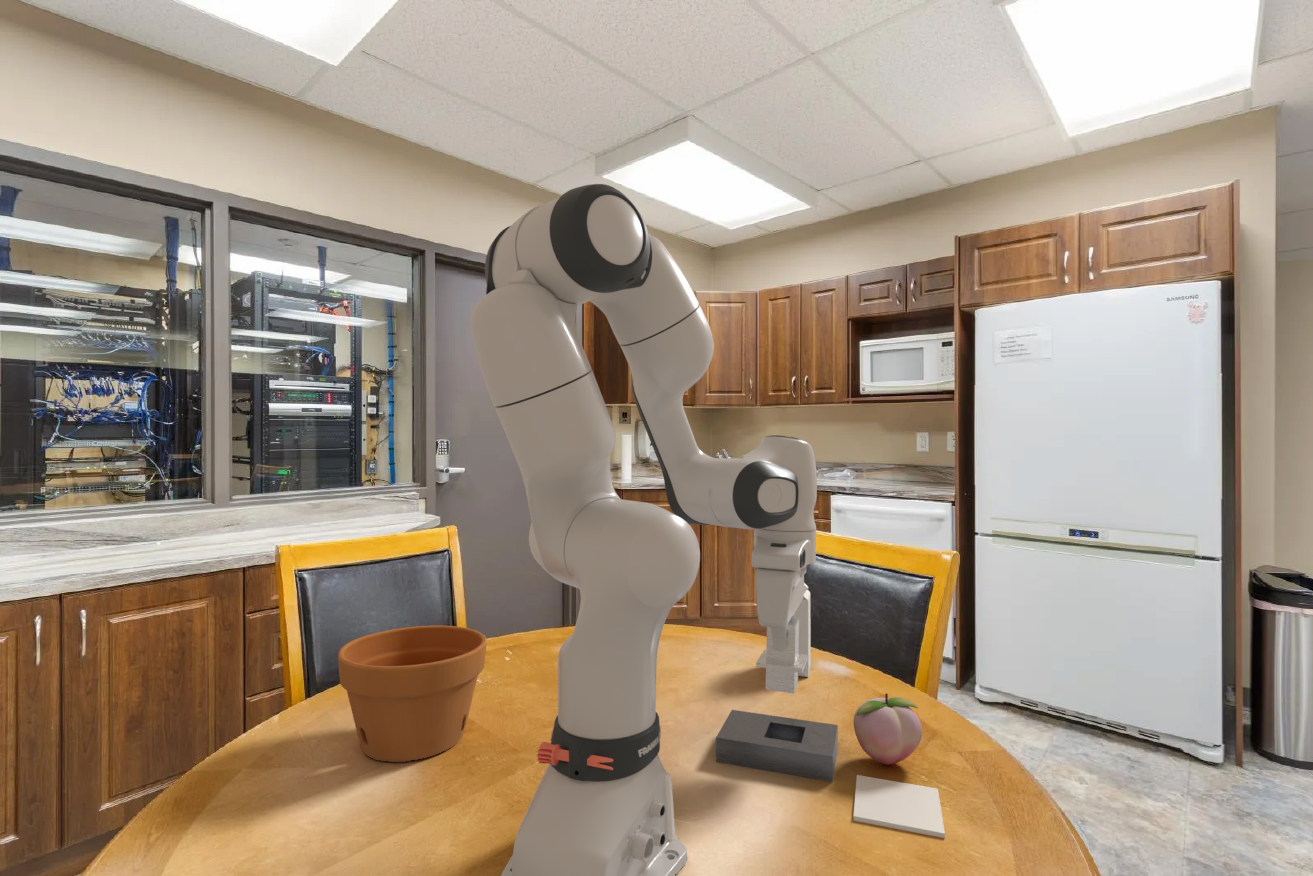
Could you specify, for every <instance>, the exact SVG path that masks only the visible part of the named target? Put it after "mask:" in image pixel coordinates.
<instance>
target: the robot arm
mask: <svg viewBox="0 0 1313 876" xmlns="http://www.w3.org/2000/svg"><path fill="white" fill-rule="evenodd" d="M484 274H485V275H484V276H485V278H484V279H485V283H486V290H485V295H484V296H483V297H482V298H481V299H480V300H479V301H478V302H477V303H476V305H475V306H474V308H473V309H472V312H471V316H470V321H469V322H470V323H469V325H470V332H471V335H472V341H473V346H474V350H475V354H476V355H475V356H476V358H477V362H478V365H479V368H480V372H481V376H482V379H483V381H484V384H485V387H486V391H487V392H488V395H489V397H490V400H491V402H492V405H493V407H494V410H495V412H496V414H497V417H498V420H499V421H500V422H499V423H500V424H501V426H502V430H503V431H504V433H505V436H506V438H507V440H508V443H509V446H510V448H511V450H512V454H513V456H514V458H515V460H516V463H517V465H518V468H519V470H520V473H521V477H522V481H523V484H524V485H523V486H524V488H525V494H526V498H527V502H528V504H527V505H528V509H529V514H530V522H531V523H530V528H529V532H528V545H529V548H530V549H529V550H530V553H531V555H532V556H533V559H534V561H535V562H536V563H537V564H538V565H539V566H541V568H542V569H543V570H544V571H545V572H546V573H547V574H549V575H550V576H551V577H552V578H553V579H555V580H556V581H557V582H560V583H562V584H565V585H568V586H570V587H573V588H576V589H578V590H579V592H580V593H579V594H580V604H579V611H578V614H577V615H578V616H577V619H576V622H575V623H576V624H575V626H574V629H573V632H572V634H571V635H569V636H568V637H567V638H566V639H565V640H564V641H563V643H562V644H561V646H560V648H559V651H558V654H557V655H558V656H557V665H558V666H557V671H558V673H557V682H558V683H557V685H558V686H557V693H558V694H557V715H556V716H555V719H554V722H553V729H552V731H551V735H550V740H549V741H550V742H547V741H542V742H541V744H540V745H539V747H538V751H537V755H536V757H537V761H538V763H540V764H548V765H547V768H546V769H545V771H544V773H543V775H542V777H541V780H540V782H539V784H538V786H537V788H536V790H535V792H534V794H533V797H532V799H531V801H530V803H529V806H528V808H527V810H526V813H525V814H524V817H523V819H522V822H521V824H520V827H519V829H518V831H517V833H516V836H515V839H514V845H513V850H512V855H511V857H510V858H509V860H508V862H507V863H506V865H505V867H504V868H503V870H502V872H501V874H500V876H676V875H677V874H678V873H679V872H680V871H681V869H682V868H683V867H684V866H685V864H686V863H687V862H688V858H689V857H688V849H687V847H686V845H685V844H684V843H683V842H682V841H681V840H679V838H677V836H676V829H675V811H674V809H675V808H674V798H673V797H674V796H673V795H674V794H673V782H672V778H671V776H670V775H669V772H668V771H667V770H666V768H665V767H664V765H663V762H662V761H661V758H660V756H659V753H660V751H661V750H660V749H661V736H662V735H661V734H662V733H661V728H662V727H661V725H660V716H659V714H658V712H657V711H656V707H657V705H656V704H657V702H656V701H657V665H658V663H657V662H658V661H657V659H658V651H659V644H660V640H661V635H662V632H663V629H664V625H665V623H666V619H667V618H668V615H669V614H670V611H671V610H672V608H673V607H674V605H676V604H677V603H678V602H679V601H680V600H682V599H683V598H684V597H685V596H686V595H687V594H688V593H689V591H690V590H691V589H692V587H693V585H694V584H695V581H696V578H697V576H698V573H699V568H700V562H701V551H700V550H701V549H700V543H699V540H698V537H697V535H696V532H695V530H693V528H692V526H691V525H694V526H695V525H697V526H698V525H700V526H701V525H703V526H704V525H706V526H709V525H711V526H720V527H724V528H736V529H743V530H754V531H753V549H752V553H751V567H752V568H756V570H755V593H756V595H755V597H756V612H757V619H758V622H759V626H761V627H764V628H767V627H770V628H771V632H772V637H773V644H772V648H773V649H774V650H775V651H785V649H786V647H787V636H786V630H787V625H788V623H789V621H790V620H791V618H794V614H795V611H796V610H797V608H798V606H799V605H800V603H801V601H802V600H803V596H804V583H805V574H806V573H807V565H811V564H812V565H813V564H814V563H816V560H817V557H816V554H817V551H816V549H817V524H816V521H815V516H814V515H815V513H814V511H815V506H816V503H817V500H818V499H817V498H818V491H817V490H818V480H817V479H818V477H817V463H816V458H815V457H816V456H815V453H814V450H813V447H812V445H811V444H810V443H809V442H807V441H806V440H804V439H802V438H798V437H795V436H794V437H793V436H786V435H780V434H779V435H778V434H777V435H773V434H772V435H767V436H764V437H762V438H761V440H760V442H759V444H758V445H757V446H756V447H755V448H754V449H752V450H751V451H750V452H747V453H745V454H744V455H740V456H739V457H731V458H729V457H727V458H723V457H721V458H720V457H713V456H710V455H708V454H707V453H705V452H704V451H702V450H701V449H700V448H699V446H698V444H697V442H696V439H695V436H694V433H693V430H692V428H691V425H690V422H689V420H688V417H687V414H686V411H685V408H684V404H683V403H684V402H683V401H684V399H683V398H684V394H685V392H687V391H688V390H689V389H691V388H692V387H693V386H694V385H695V384H697V382H698V381H700V380H701V379H702V377H703V376H704V375H705V374H706V372H707V370H708V368H709V367H710V364H711V362H712V359H713V357H714V356H713V355H714V350H715V344H714V343H715V342H714V338H713V337H714V336H713V332H712V329H711V327H710V324H709V322H708V319H707V317H706V315H705V313H704V311H703V309H702V307H701V305H700V302H699V301H698V298H697V296H696V295H695V292H694V289H692V286H691V285H690V283H689V282H688V279H687V277H686V276H685V275H684V272H683V271H682V270H681V267H680V266H679V265H678V263H677V261H676V260H675V258H674V257H673V255H672V254H671V253H670V252H669V251H668V249H667V248H666V246H665V245H664V243H662V241H661V240H660V239H658V238H657V237H656V236H653V235H651V234H650V233H649V230H648V227H647V224H646V221H645V220H644V218H643V216H642V214H641V213H640V211H639V209H638V208H637V207H636V206H635V204H634V203H633V202H632V201H631V199H629V198H628V197H627V196H626V195H625V194H624V193H623V192H621V191H620V190H618V188H615V187H614V186H611V185H608V184H603V183H593V184H592V183H591V184H586V185H581V186H577V187H574V188H571V189H569V190H567V191H566V192H564V193H563V194H562V195H561V196H559V197H556V198H555V199H553V200H550V201H548V202H546V203H543V204H541V205H537V206H535V207H533V208H532V209H530V210H529V211H527V212H526V213H524V214H523V215H522V216H520V217H519V218H518V219H517V220H515V221H514V222H513V223H512V224H511V225H509V226H507V227H505V228H504V229H502V230H501V231H500V232H499V233H498V234H497V235H496V237H495V238H494V239H493V241H492V242H491V244H490V246H489V248H488V250H487V253H486V257H485V263H484ZM588 302H590V303H592V304H593V305H594V306H595V307H597V308H598V309H599V310H600V311H601V312H602V313H603V315H605V317H606V319H607V321H608V324H609V325H610V328H611V330H612V332H613V333H612V334H613V335H614V337H615V339H616V340H617V344H619V346H620V348H621V350H622V353H623V355H624V357H625V359H626V361H627V365H628V367H629V369H630V373H631V377H632V380H631V389H632V390H631V391H632V394H633V399H634V402H635V406H636V409H637V411H638V413H639V417H640V419H641V422H642V424H643V426H644V429H645V431H646V434H647V437H648V439H649V441H650V444H651V446H652V448H653V451H654V453H655V455H656V458H657V461H658V464H659V466H660V468H661V469H660V470H661V472H662V476H663V481H664V488H665V489H664V490H665V494H666V499H667V502H668V504H669V508H670V509H671V511H672V512H671V511H669V510H667V509H665V508H663V507H662V506H661V507H660V506H658V505H657V504H654V503H650V502H644V501H636V500H628V499H622V498H620V496H619V495H618V494H617V492H616V489H615V488H614V486H613V481H612V475H611V465H610V464H611V462H610V461H611V460H610V459H611V458H610V456H611V453H612V451H613V450H614V447H615V445H616V439H617V436H616V429H615V427H614V424H613V421H612V419H611V415H610V412H609V411H608V408H607V406H606V402H605V400H604V397H603V395H602V392H601V389H600V387H599V384H598V382H597V379H596V377H595V374H594V370H593V369H592V366H591V364H590V361H589V359H588V356H587V354H586V352H585V350H584V348H583V344H582V343H581V341H580V338H579V336H578V335H579V334H578V332H577V331H578V330H577V323H576V322H577V321H576V318H577V315H576V314H577V310H578V307H579V306H580V305H583V304H586V303H588ZM675 874H676V875H675Z"/></svg>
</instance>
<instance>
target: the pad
mask: <svg viewBox="0 0 1313 876" xmlns="http://www.w3.org/2000/svg"><path fill="white" fill-rule="evenodd" d="M855 781H856V782H855V793H854V805H853V806H854V807H853V815H852V816H853V818H852V819H853V821H854V822H859V823H864V824H870V825H875V826H880V827H883V828H884V827H885V828H891V829H895V830H896V829H897V830H900V831H906V832H910V833H917V834H920V835H921V834H922V835H927V836H930V837H938V838H942V839H946V832H945V826H944V819H943V814H942V806H941V800H940V794H939V789H938V788H937V787H931V786H930V787H929V786H925V785H920V784H919V785H918V784H914V783H913V784H912V783H906V782H901V781H896V780H895V781H893V780H889V779H883V778H876V777H870V776H864V775H859V774H856V779H855Z"/></svg>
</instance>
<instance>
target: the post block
mask: <svg viewBox="0 0 1313 876" xmlns="http://www.w3.org/2000/svg"><path fill="white" fill-rule="evenodd" d="M838 729H839V727H838V724H834V723H833V724H832V723H826V722H825V723H824V722H819V721H811V720H805V719H798V718H791V717H784V716H778V715H777V716H776V715H772V714H764V713H757V712H751V711H743V710H736V709H731V710H730V712H729V714H728V716H727V718H726V719H725V722H723V725H722V726H721V728H720V730H719V732H718V733H717V735H716V737H715V762H716V763H720V764H727V765H733V766H736V767H737V766H739V767H742V768H743V767H744V768H748V769H755V770H759V771H766V772H772V773H777V774H783V775H788V776H794V777H800V778H806V779H812V780H816V781H817V780H818V781H822V782H829V783H833V782H834V776H835V771H836V770H835V769H836V763H837V756H838V750H839V748H838V747H839V743H838V742H839V740H838V739H839V733H838V732H839V730H838Z"/></svg>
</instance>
